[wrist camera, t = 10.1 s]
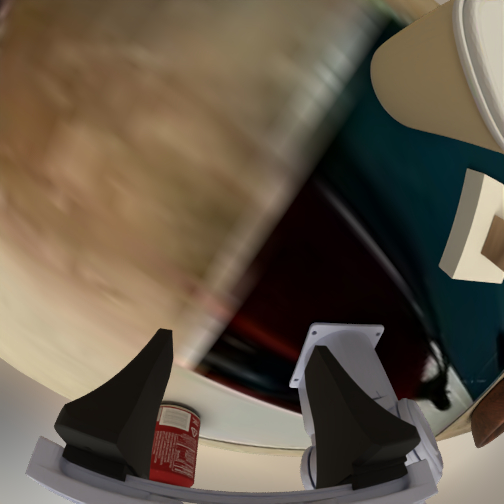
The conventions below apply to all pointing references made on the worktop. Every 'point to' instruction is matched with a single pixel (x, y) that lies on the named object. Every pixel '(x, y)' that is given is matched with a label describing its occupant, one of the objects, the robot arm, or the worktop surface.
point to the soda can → (175, 446)
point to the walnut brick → (495, 243)
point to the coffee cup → (447, 73)
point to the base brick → (474, 230)
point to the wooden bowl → (489, 417)
